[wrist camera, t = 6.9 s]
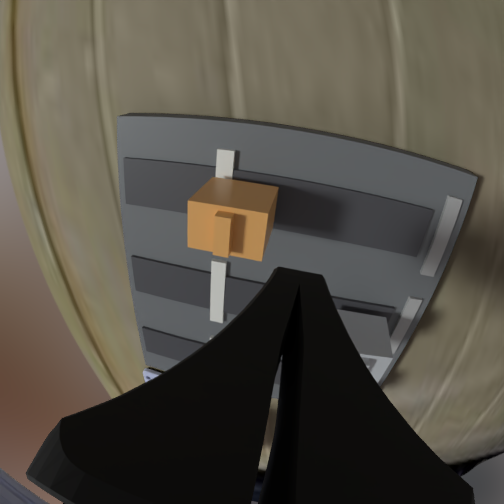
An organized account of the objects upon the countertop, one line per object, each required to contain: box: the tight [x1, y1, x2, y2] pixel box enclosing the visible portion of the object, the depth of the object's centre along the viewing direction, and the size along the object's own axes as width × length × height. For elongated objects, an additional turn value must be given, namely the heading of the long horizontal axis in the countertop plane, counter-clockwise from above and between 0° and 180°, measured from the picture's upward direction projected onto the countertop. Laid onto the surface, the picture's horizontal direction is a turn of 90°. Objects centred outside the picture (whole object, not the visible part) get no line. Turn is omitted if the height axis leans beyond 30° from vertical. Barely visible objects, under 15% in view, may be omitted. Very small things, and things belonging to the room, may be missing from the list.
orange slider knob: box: [187, 177, 279, 262], centre depth 13 cm, size 2×3×4 cm, turn 84°
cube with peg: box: [337, 309, 393, 383], centre depth 15 cm, size 2×3×4 cm, turn 84°
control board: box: [117, 113, 478, 399], centre depth 18 cm, size 19×18×1 cm
